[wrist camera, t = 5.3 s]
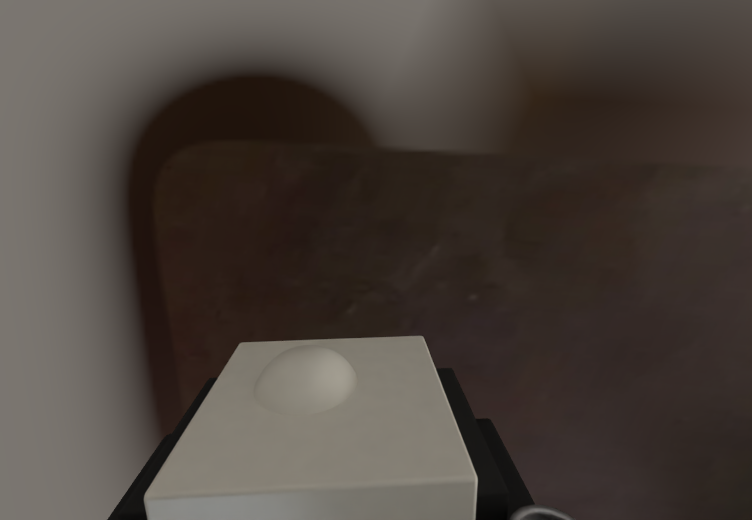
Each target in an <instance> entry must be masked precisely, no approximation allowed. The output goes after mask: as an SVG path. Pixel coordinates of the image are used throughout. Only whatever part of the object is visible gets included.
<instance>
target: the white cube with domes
mask: <svg viewBox="0 0 752 520" xmlns="http://www.w3.org/2000/svg"><path fill="white" fill-rule="evenodd" d="M477 484H478V477H477V475H476V472H475V470H474V467H473V465H472V462H471V459H470V457H469V454H468V452H467V449H466V446H465V444H464V441H463V439H462V436H461V433H460V431H459V428H458V426H457V423H456V420H455V418H454V415H453V413H452V410H451V407H450V405H449V402H448V400H447V397H446V394H445V392H444V389H443V387H442V384H441V381H440V379H439V376H438V374H437V371H436V369H435V366H434V363H433V361H432V358H431V356H430V353H429V350H428V348H427V345H426V343H425V340H424V338H423V336H402V337H376V338H349V339H323V340H297V341H270V342H244V343H240V344H239V345H238V347H237V349H236V350H235V352H234V353H233V355H232V357H231V358H230V360H229V361H228V363H227V364H226V366H225V368H224V369H223V371H222V372H221V374H220V376H219V377H218V379H217V380H216V382H215V383H214V385H213V387H212V388H211V390H210V391H209V393H208V395H207V396H206V398H205V399H204V401H203V402H202V404H201V406H200V407H199V409H198V410H197V412H196V414H195V415H194V417H193V418H192V420H191V422H190V423H189V425H188V426H187V428H186V429H185V431H184V433H183V434H182V436H181V437H180V439H179V441H178V442H177V444H176V445H175V447H174V448H173V450H172V452H171V453H170V455H169V456H168V458H167V460H166V461H165V463H164V464H163V466H162V467H161V469H160V471H159V472H158V474H157V475H156V477H155V479H154V480H153V482H152V483H151V485H150V487H149V488H148V490H147V491H146V493H145V496H144V504H145V509H146V514H147V519H148V520H475V518H476V501H477Z"/></svg>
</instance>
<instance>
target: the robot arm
mask: <svg viewBox="0 0 752 520" xmlns="http://www.w3.org/2000/svg"><path fill="white" fill-rule="evenodd" d="M436 371H437V374H438V376H439V379H440V381H441V384H442V387H443V389H444V392H445V394H446V397H447V400H448V402H449V405H450V407H451V410H452V413H453V415H454V418H455V420H456V423H457V426H458V428H459V431H460V433H461V436H462V439H463V441H464V444H465V446H466V449H467V452H468V454H469V457H470V459H471V462H472V465H473V467H474V470H475V472H476V475H477V477H478V484H477V501H476V518H475V520H575V519H574V518H573V517H571V516H570V515H569V514H567V513H565V512H563V511H560V510H558V509H556V508H553V507H549V506H545V505H535V503H534V502H533V500H532V498H531V496H530V494H529V492H528V490H527V488H526V486H525V484H524V482H523V480H522V478H521V477H520V475H519V473H518V471H517V469H516V467H515V465H514V463H513V461H512V459H511V457H510V455H509V453H508V452H507V450H506V448H505V446H504V444H503V442H502V440H501V438H500V436H499V434H498V432H497V430H496V428H495V426H494V425H493V423H492V422H491V420H490V419H475V417H474V415H473V413H472V411H471V408H470V406H469V404H468V402H467V400H466V398H465V395H464V393H463V391H462V389H461V387H460V384H459V382H458V380H457V378H456V376H455V374H454V371H453V370H452V368H441V369H436ZM217 379H218V378H210V379H209V380H208V381H207V382H206V384H205V385H204V387H203V388H202V390H201V391H200V393H199V394H198V396H197V397H196V399H195V400H194V402H193V403H192V405H191V406H190V407H189V409H188V410H187V412H186V413H185V415H184V416H183V418H182V420H181V421H180V422H179V424H178V425H177V427H176V429H175V430H174V431H173V433H172V434H169V435H167V436H166V437H165V438H164V439H163V440H162V442H161V443H160V445H159V446H158V447H157V449H156V450H155V452H154V453H153V454H152V456H151V457H150V459H149V460H148V462H147V463H146V465H145V466H144V467H143V469H142V470H141V472H140V473H139V475H138V476H137V478H136V479H135V480H134V482H133V483H132V485H131V486H130V488H129V489H128V491H127V492H126V494H125V495H124V496H123V498H122V499H121V501H120V502H119V504H118V505H117V506H116V508H115V509H114V511H113V512H112V514H111V515H110V517H109V518H108V520H148V519H147V514H146V509H145V504H144V496H145V493H146V491H147V490H148V488H149V487H150V485H151V483H152V482H153V480H154V479H155V477H156V475H157V474H158V472H159V471H160V469H161V467H162V466H163V464H164V463H165V461H166V460H167V458H168V456H169V455H170V453H171V452H172V450H173V448H174V447H175V445H176V444H177V442H178V441H179V439H180V437H181V436H182V434H183V433H184V431H185V429H186V428H187V426H188V425H189V423H190V422H191V420H192V418H193V417H194V415H195V414H196V412H197V410H198V409H199V407H200V406H201V404H202V402H203V401H204V399H205V398H206V396H207V395H208V393H209V391H210V390H211V388H212V387H213V385H214V383H215V382H216V380H217Z"/></svg>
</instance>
